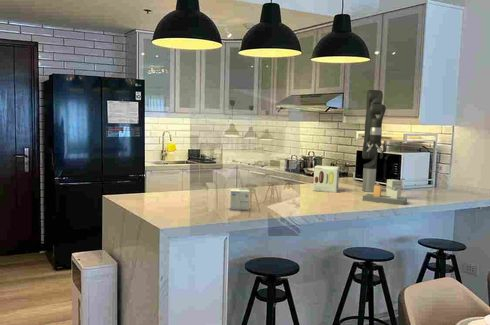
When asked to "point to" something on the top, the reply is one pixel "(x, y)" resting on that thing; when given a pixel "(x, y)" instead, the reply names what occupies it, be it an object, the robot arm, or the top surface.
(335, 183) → the supplement box
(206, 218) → the top surface
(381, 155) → the robot arm
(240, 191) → the light bulb box
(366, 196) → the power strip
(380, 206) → the top surface
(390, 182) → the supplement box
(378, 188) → the orange plug
